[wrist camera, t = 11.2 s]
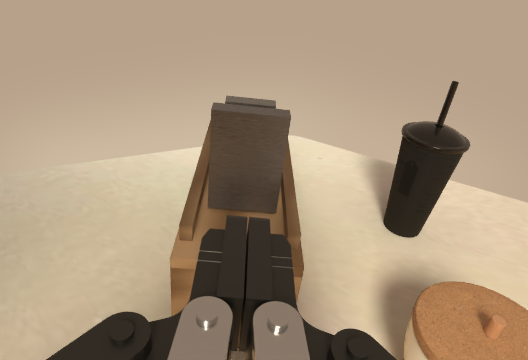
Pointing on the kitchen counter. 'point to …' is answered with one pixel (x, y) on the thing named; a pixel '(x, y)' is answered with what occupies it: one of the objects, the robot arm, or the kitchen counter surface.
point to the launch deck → (203, 218)
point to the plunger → (247, 154)
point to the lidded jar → (466, 325)
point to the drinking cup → (423, 171)
